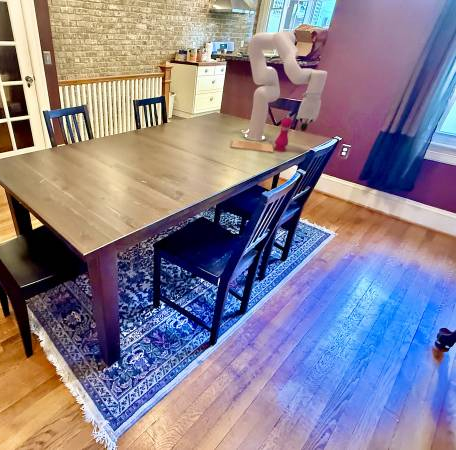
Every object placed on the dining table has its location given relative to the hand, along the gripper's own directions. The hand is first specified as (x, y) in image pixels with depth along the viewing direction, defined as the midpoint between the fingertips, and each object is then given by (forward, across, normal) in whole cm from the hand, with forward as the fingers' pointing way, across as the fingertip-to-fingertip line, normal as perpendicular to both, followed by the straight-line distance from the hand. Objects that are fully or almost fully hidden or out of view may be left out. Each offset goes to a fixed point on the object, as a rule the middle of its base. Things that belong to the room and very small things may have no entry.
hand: (302, 130), depth 173 cm
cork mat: (+13, -26, 0) cm, 29 cm away
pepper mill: (+13, -10, 0) cm, 16 cm away
